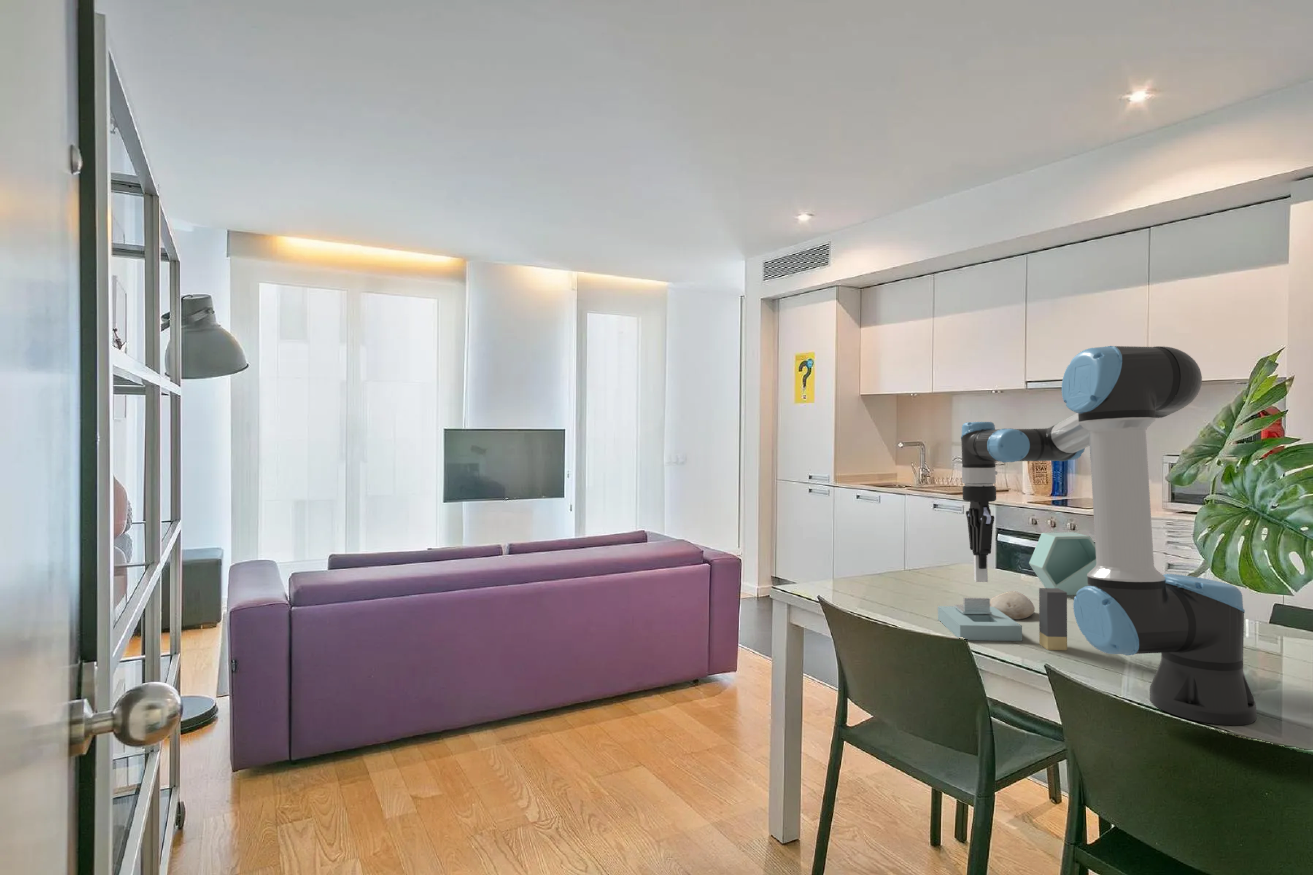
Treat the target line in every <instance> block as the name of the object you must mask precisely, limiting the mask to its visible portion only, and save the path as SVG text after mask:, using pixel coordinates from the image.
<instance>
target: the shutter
mask: <svg viewBox="0 0 1313 875" xmlns="http://www.w3.org/2000/svg"><path fill="white" fill-rule="evenodd" d="M990 599H991V598H989V597H963V600H962V601H963V603H962V604H954V605H953V606H954V607H955V608H956V609H958V610H959V611H960V612H961V613H963V614H992V612H991V611H990Z"/></svg>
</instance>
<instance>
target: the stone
mask: <svg viewBox="0 0 1313 875" xmlns="http://www.w3.org/2000/svg"><path fill="white" fill-rule="evenodd" d="M989 599H990V607H995V608H996V609H998V610H999V611H1001V612H1002V613H1004V614H1005V615H1007V616H1008V617H1009V618H1011V619H1012V620H1014V621H1017V620H1024V619H1027V618H1029V617H1031V616H1032V615H1033V614H1034V613H1035V611H1036V610H1035V609H1036V608H1035V606H1034V603H1033V602H1032V600H1031V599H1029V598H1028V596H1026V595H1025V594H1024V593H1021V592H1019V591H1016V590H1015V591H1014V590H1009V591H1007V592H1002V593H999V594H997V595H995V596H993V597H992V598H989Z"/></svg>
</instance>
